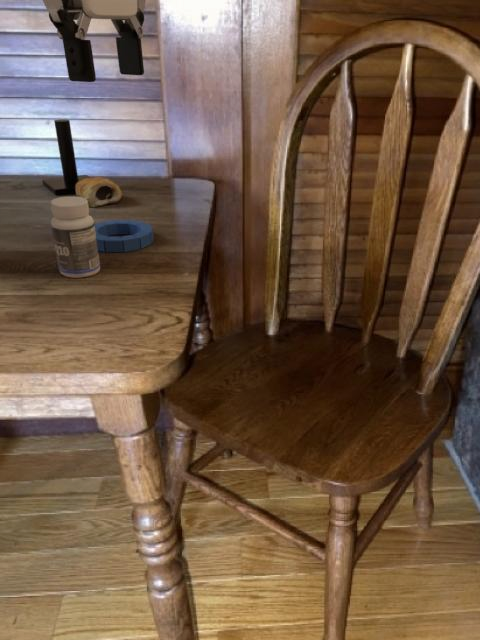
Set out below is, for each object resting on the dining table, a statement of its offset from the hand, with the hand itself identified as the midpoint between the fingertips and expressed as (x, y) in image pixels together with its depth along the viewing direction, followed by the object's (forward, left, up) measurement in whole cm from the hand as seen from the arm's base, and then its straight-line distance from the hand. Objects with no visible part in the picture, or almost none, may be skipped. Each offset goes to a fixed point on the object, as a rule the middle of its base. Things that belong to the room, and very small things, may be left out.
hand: (108, 77), depth 67 cm
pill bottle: (-9, -7, -20) cm, 23 cm away
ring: (-1, +1, -20) cm, 20 cm away
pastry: (+3, +22, -20) cm, 30 cm away
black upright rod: (+2, +32, -20) cm, 38 cm away
